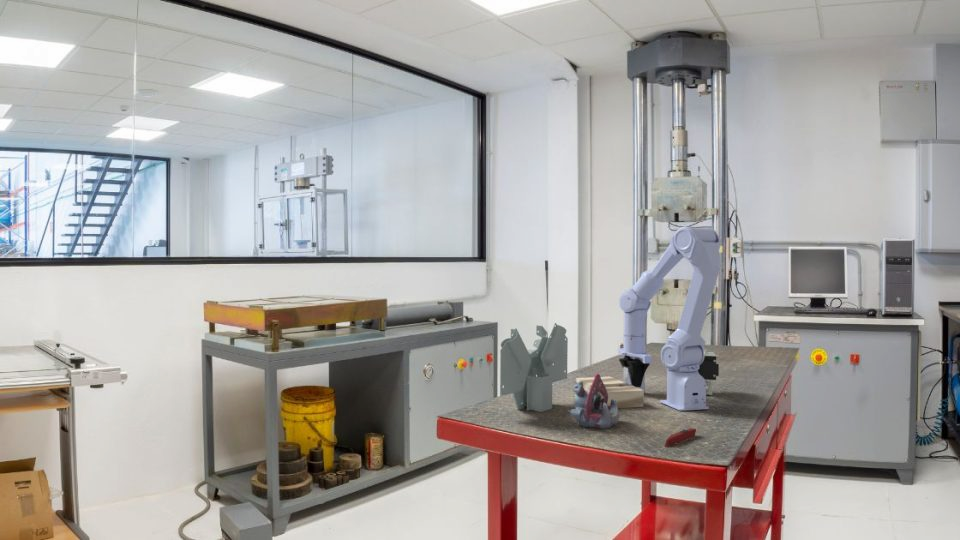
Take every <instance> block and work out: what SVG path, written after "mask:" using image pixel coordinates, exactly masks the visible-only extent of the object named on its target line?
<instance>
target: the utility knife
mask: <svg viewBox="0 0 960 540" xmlns="http://www.w3.org/2000/svg"><path fill="white" fill-rule="evenodd" d="M696 432H697V429H696V428H687V429H682V430H680V431H678V432H676V433H674V434H671V435H670V436H668V438H666V441H665V444H664V447H665V448H668V447H672V446H675V445H677V444H676V443H678V444H680V443H682V441H683V442H684V441H687V439H688V440H690V439H693V438H695V436H696ZM692 437H693V438H692ZM689 438H690V439H689ZM674 444H675V445H674ZM671 445H672V446H671Z"/></svg>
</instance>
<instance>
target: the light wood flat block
mask: <svg viewBox="0 0 960 540" xmlns="http://www.w3.org/2000/svg"><path fill="white" fill-rule="evenodd" d="M594 377H595V376H592V377H591V376H590V377H587V376H586V377H575V378H576V379H575V381H576V382H580V381H582V383H583V388H584V390H590V388H591V385H592V382H593V380H594ZM600 377H601V379H602V382H603V384H604V385H605V388H606V390H607V393H608V402H607V406H611V405H610V403H611V399H615V400H616V403H617V407H618V409H624V408H627V409H628V408H642V407H644V402H645V401H644V400H645V399H644V397H645V394H644V390H642V389H639V388H637V387H634V386H632V385H630V384H627V383H625V382H623V380H620V379H617V378H616V377H615V378H614V377H612V376H600ZM598 394H600V395H601V398H602V393H600V392H598Z"/></svg>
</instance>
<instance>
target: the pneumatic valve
mask: <svg viewBox="0 0 960 540" xmlns="http://www.w3.org/2000/svg"><path fill="white" fill-rule="evenodd" d="M704 353H705V357H704V360H703V362H702V363H701V364H700V365H699V369H698V373H699V375H701V376H702V377H703V378H704V380H705V382H706V395H709V396H713V387H712V386H713V385H714V383H713V382H712V381H717V377H719V375H720V373H719V371H720V370H719V369H720V367H719V365H720V364H719V362H718V360H717V359H719V357H720V356H719V354H717V353H715V352H714V351H711V350H709V351H708V349H707V348H704Z"/></svg>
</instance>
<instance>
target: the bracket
mask: <svg viewBox="0 0 960 540" xmlns="http://www.w3.org/2000/svg"><path fill="white" fill-rule="evenodd" d="M535 328H536V333H535V334H536V336H538V337H540V338H538V339H536V340H534V342H533V345H532V346H533V347H535V348H536V349H527V347H526V344H525V343H524V341H523V339H522V337H521V335H520V332H519V330H518V329H517V328H510V337H507V338H505V339H504V340H502V341H501V343H500V347H501V349H500V351H499V353H500V358H499V360H500V361H499V362H500V365H499V367H500V370H499V371H500V374H499V376H500V377H499V381H500V384H499V386H500V387H499V390H500V391H499V397H502V396H507V395H511V394H512V397H513V399H514V400H513V401H514V403H515V406H516V409H517V410H518V411H519V410H523V409H525V407H526V411H535V412H539V413H541V412H543V413H544V412H546V411H549V410H552V409H553V383H555V382H560V381H564V380H567V379H568V345H569V344H568V339H569V338H568V336H567V335H566V333H567V329H566V328H565V327H564V326H562V325H559V324H557V323H556V322H554V325H553V327H552V330H551V332H550V334H549V337H547V335H548V331H547V330H546V329H545V328H544V326H543V325H536V327H535Z"/></svg>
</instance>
